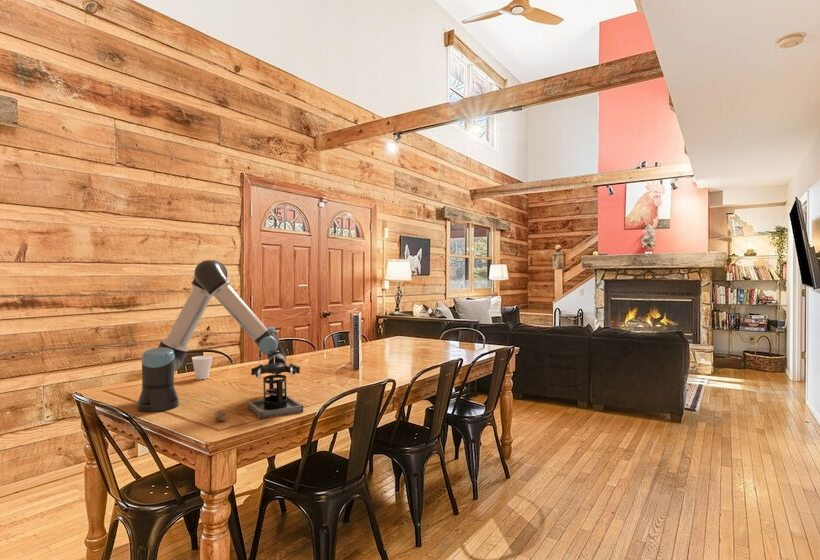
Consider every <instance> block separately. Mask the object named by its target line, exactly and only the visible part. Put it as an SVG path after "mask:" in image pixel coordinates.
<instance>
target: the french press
mask: <svg viewBox="0 0 820 560" xmlns="http://www.w3.org/2000/svg"><path fill="white" fill-rule="evenodd" d="M269 352H270V353H273V355H274V363H271V364H268V363H266V364H263V365H264V366H263V368H264V372H265V373H264V374H271V375H266V376H264V377H263V378H262V381H263V384H262V385H263V400H264V406H263V408H264V409H266V410H274V409H280V408H285V407H287V396H288V395H287V376H286V375H285V374H277V375H275V373H279V372H282V373H284V372H283V371H285V366H286V365H287V363H286V364H284V363H275V353H276V352H279V350H271V351H269ZM272 373H274V374H272ZM266 384H268V386H269V388H268V389H266ZM275 386H276V387H275ZM283 387H284V388H283ZM283 394H284V395H283ZM266 395H267V396H266Z"/></svg>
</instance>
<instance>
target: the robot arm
mask: <svg viewBox="0 0 820 560" xmlns="http://www.w3.org/2000/svg"><path fill="white" fill-rule="evenodd" d="M190 284H191V286H192V289H191V292H190V293H189V295H188V297H187V300H186V301H185V302H184V305H183V306H182V308H181V310H180V312H179V314H178V316H177V318H176V320H175V321H174V323H173V326H172V328H171V329H170V332H169V333H168V335H167V337H166V338H163V339H161V341H160V343H159V344H158V345H157V347H154V348H153V347H152V348H149V349H146V350H145V351H144V352H143V353H142V355H141V392H140V395H139V398H138V399H137V402H136V403H137V404H136V409H137V410H138V411H140V412H143V413H144V412H146V413H147V412H149V413H150V412H151V413H152V412H163V411H167V410H171V409H174V408H176V407H178V406H179V403H180V401H179V400H180V399H179V397H178V394H177V390H176V388H175V372H177V371H178V370H179V369H180V368H181V367H182V366H183V365H184V364H183V363H184V361H185V357H186V355H187V353H188V351H189V347H188V343H189V341H190V339H191V338H192V336H193V333H194V332H195V330H196V328H197V326H198V324H199V322H200V320H201V318H202V316H203V314H204V312H205V311H206V309H207V307H208V305H209V304H210V302H211V299H212V298H213V297H215V299H216V300H217V301H218V302H219V303H220V305H222V307H223V308H224V309H225V310H226V311H227V313H228V314H230V316H231V317H232V318H233V319H234V320H235V321H236V322H237V324H238V326H240V327H241V328H242V330H244V332H246V333H247V335H248V336H249V337H250V338H251V339H252V340H253V342H254V343H255V344H256V345H257V346H258V348H259V351H260V352H261V353H263V354H264V355H266V357H267V360H268V363H267V364H271V363H274V355H273V353H270V352H269V351H271V350H279V352H276V353H275V363H284V364H286V366H285V371H283V372H279V373H275V375H282V373H288V374H290V378H291V379H292V378H293V375H296V374H300V373H301V371H300V370H301V369H300V368H301V367H300V366H299V365H295V364H294V363H292V362H291V363H289V364H288V365H287V356H286V353H285V352H284V349H283V347H282V345H281V342H280V339H279V336H278V332H277V330H276V327H275V326H269V327H266V326H265V324H264V323H263V321H261V320H260V319H259V317H258V316H257V315H256V314H255V313H254V311H252V309H251V308H250V307H249V306H248V305H247V303H245V301H244V300H243V299H242V298H241V297H240V296H239V294H238V293H237V292H236V291H235V290H234V289H233V287H231V284H230V280H229V279H228V270H227V268H226V266H225V265H224V264H223V263H222V262H221V261H218V260H215V259H214V260H211V259H207V260H202V261H201V262H199V263H198V264H197V265H196V266H195V269H194V278H193V279H192V281H191V283H190ZM264 365H265V364H263V363H262V364H259V365H257V366H255V367H252V368H251V370H250V371H251V373H250V374H251V375H252V376H255V378H257V380H260V379H261V376H262V375H264V374H266V373H265V372H264V368H263V366H264ZM271 375H274V373H271Z"/></svg>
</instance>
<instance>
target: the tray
mask: <svg viewBox="0 0 820 560" xmlns="http://www.w3.org/2000/svg"><path fill="white" fill-rule="evenodd" d="M263 406H264V399H259V400H252V401H251V400H250V401H248V402H247V407H248V409H249V410H250V411H251V410H252V411H253V412H254V413H255V416H257V417H258V416H259V417H260V418H263V419H265V418H264V417H269V418H271V417H270V416H275V417H278V416H277V415H281V416H285V415H284V414H287V415H292V414H299V412H300V413H304V405H303V404H301V403H300V402H298V401H297V400H295V399H294V398H293V397H291V396H289V395H287V407H285V408H280V409H274V410H266V409H264V408H263ZM252 411H251V412H252ZM253 412H252V413H253ZM254 413H253V414H254ZM259 417H258V418H259ZM260 418H259V419H260Z"/></svg>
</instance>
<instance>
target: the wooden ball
mask: <svg viewBox="0 0 820 560" xmlns="http://www.w3.org/2000/svg"><path fill="white" fill-rule="evenodd" d="M226 417H227V414H226V412H225V411H224V410H221V409H220V410H217V411H216V412H215V413H214V419H215V421H216V422H219V421H220V422H223V421H224V420H226Z"/></svg>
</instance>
